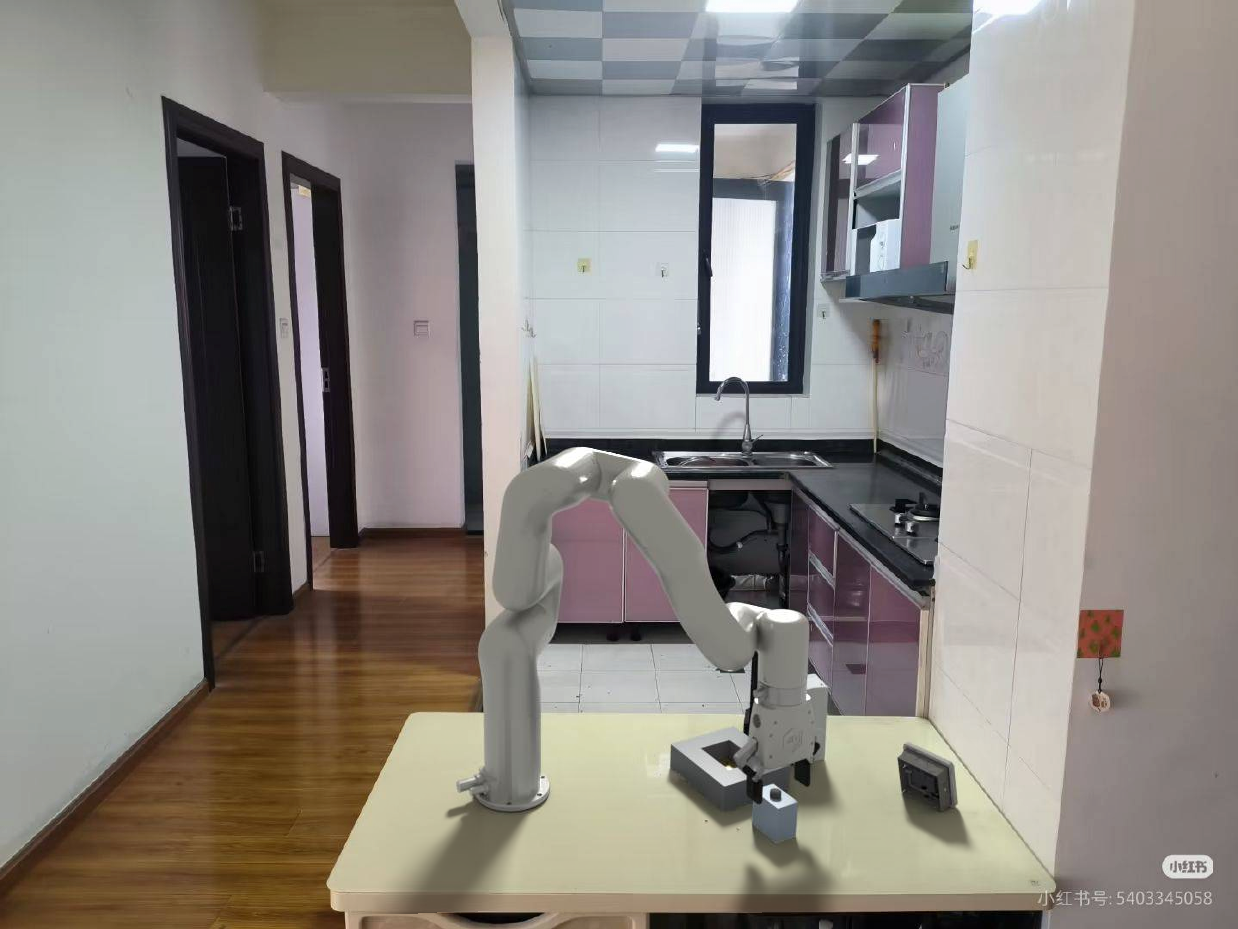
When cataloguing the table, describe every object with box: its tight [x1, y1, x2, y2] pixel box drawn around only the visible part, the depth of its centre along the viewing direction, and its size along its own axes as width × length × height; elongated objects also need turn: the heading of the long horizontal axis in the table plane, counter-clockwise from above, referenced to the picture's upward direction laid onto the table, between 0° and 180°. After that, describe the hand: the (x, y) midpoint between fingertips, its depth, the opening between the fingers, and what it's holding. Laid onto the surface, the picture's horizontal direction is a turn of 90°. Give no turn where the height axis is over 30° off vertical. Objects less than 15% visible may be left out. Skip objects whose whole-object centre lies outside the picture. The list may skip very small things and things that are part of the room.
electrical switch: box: [896, 741, 959, 814], centre depth 152 cm, size 9×5×9 cm, turn 38°
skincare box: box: [790, 673, 829, 765], centre depth 165 cm, size 8×6×15 cm
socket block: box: [669, 726, 791, 812], centre depth 159 cm, size 14×16×4 cm
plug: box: [751, 784, 799, 844], centre depth 143 cm, size 4×6×7 cm, turn 30°
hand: (778, 791), depth 143 cm, fingers open, 9 cm apart
